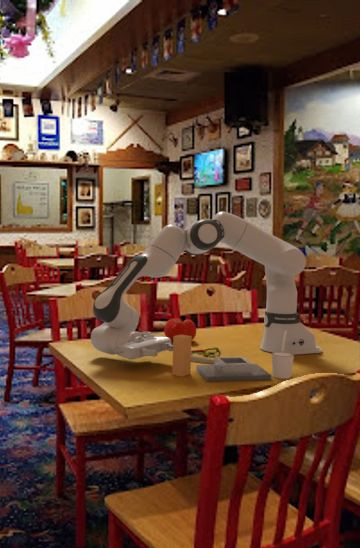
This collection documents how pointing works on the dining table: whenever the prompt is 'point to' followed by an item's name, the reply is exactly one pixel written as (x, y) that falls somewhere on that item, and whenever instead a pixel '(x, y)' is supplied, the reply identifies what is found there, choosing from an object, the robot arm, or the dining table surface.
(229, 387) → the dining table surface
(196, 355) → the pizza slice
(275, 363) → the white tapered cup
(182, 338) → the orange rectangular block
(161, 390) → the dining table surface
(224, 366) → the square socket plate
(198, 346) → the dining table surface
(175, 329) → the tomato
